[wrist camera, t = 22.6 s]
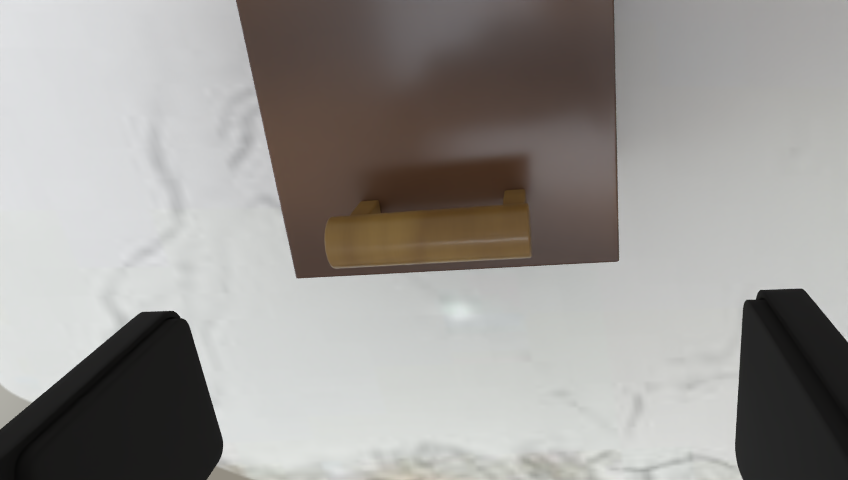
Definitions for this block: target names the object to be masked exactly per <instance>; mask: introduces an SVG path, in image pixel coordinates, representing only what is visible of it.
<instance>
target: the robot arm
mask: <svg viewBox="0 0 848 480" xmlns="http://www.w3.org/2000/svg"><path fill="white" fill-rule="evenodd" d="M222 451H223V439H222V435H221V432H220V428H219V425H218V422H217V418H216V415H215V412H214V408H213V405H212V401H211V398H210V395H209V391H208V388H207V384H206V381H205V378H204V374H203V371H202V367H201V364H200V361H199V357H198V354H197V350H196V347H195V344H194V340H193V337H192V333H191V330H190V327H189V324H188V323H187V321H186V320H184V319H183V318H180V316H179V315H178V314H177V313H176V312H174V311H158V312H141V313H140V314H138V315H137V316H135V317H134V318H133V319H132V320H131V321H129V322H128V323H127V324H126V325H125V326H123V327H122V328H121V329H120V330H119V331H118V332H116V333H115V334H114V335H113V336H112V337H110V338H109V339H108V340H107V341H106V342H104V343H103V344H102V345H101V346H100V347H98V348H97V349H96V350H95V351H94V352H92V353H91V354H90V355H89V356H88V357H86V358H85V359H84V360H83V361H82V362H80V363H79V364H78V365H77V366H76V367H74V368H73V369H72V370H71V371H70V372H69V373H67V374H66V375H65V376H64V377H63V378H61V379H60V380H59V381H58V382H57V383H55V384H54V385H53V386H52V387H51V388H49V389H48V390H47V391H46V392H45V393H43V394H42V395H41V396H40V397H39V398H37V399H36V400H35V401H34V402H33V403H31V404H30V405H29V406H28V407H27V408H25V409H24V410H23V411H22V412H21V413H19V415H17V416H16V417H15V418H14V419H12V420H11V421H10V422H9V423H8V424H6V425H5V426H4V427H3V428H2V429H0V480H207V478H208V477H209V475H210V474H211V472H212V471H213V469H214V468H215V466H216V465H217V463H218V462H219V460H220V458H221V455H222ZM735 451H736V459H737V464H738V468H739V471H740V473H741V476H742V478H743V480H848V342H847V341H846V340H845V338H844V337H843V336H842V335H841V334H840V332H839V331H838V330H837V329H836V328H835V326H834V325H833V324H832V323H831V322H830V320H829V319H828V318H827V317H826V316H825V314H824V313H823V312H822V311H821V309H820V308H819V307H818V306H817V305H816V303H815V302H814V301H813V300H812V299H811V297H810V296H809V295H808V294H807V293H806V291H804V290H803V289H778V290H760V291H759V292H758V294H757V297H756V300H746V301H745V303H744V306H743V319H742V336H741V353H740V370H739V387H738V405H737V422H736V439H735Z"/></svg>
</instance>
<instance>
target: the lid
mask: <svg viewBox="0 0 848 480" xmlns="http://www.w3.org/2000/svg"><path fill="white" fill-rule="evenodd" d="M236 2H237V7H238V11H239V16H240V21H241V25H242V30H243V34H244V39H245V44H246V48H247V53H248V57H249V62H250V67H251V71H252V76H253V80H254V85H255V90H256V94H257V99H258V103H259V108H260V112H261V117H262V122H263V126H264V131H265V135H266V140H267V145H268V149H269V154H270V158H271V163H272V168H273V172H274V177H275V181H276V186H277V191H278V195H279V200H280V204H281V209H282V214H283V218H284V223H285V227H286V232H287V237H288V241H289V246H290V250H291V255H292V260H293V264H294V269H295V273H296V278H314V277H333V276H352V275H371V274H390V273H408V272H427V271H446V270H465V269H484V268H503V267H522V266H541V265H560V264H579V263H598V262H617V261H619V230H618V181H617V131H616V81H615V32H614V0H236Z"/></svg>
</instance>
